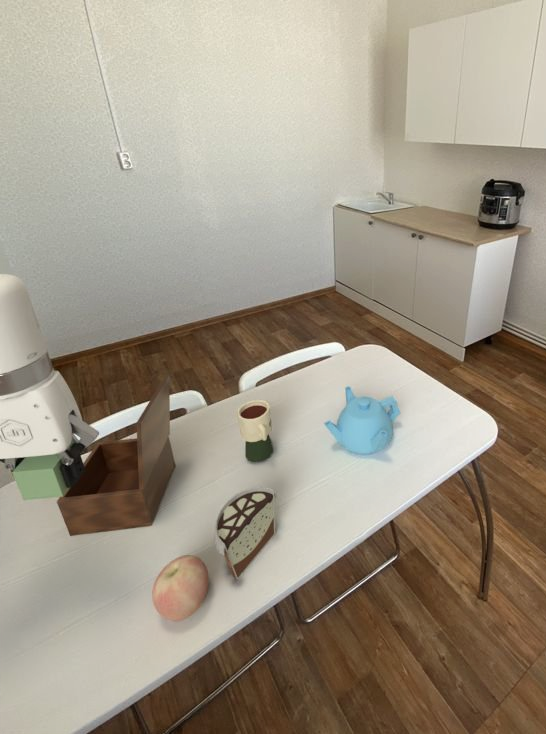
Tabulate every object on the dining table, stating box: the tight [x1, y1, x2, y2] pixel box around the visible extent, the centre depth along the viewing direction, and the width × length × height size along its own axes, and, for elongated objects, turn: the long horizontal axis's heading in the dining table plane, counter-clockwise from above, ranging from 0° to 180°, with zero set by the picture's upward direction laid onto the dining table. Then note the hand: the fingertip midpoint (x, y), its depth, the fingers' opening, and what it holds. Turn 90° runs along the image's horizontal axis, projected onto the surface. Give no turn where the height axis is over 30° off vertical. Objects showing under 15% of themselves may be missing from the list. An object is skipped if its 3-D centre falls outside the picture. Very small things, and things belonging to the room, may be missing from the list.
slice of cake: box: [213, 486, 278, 581], centre depth 68 cm, size 12×6×10 cm, turn 149°
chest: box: [56, 435, 176, 537], centre depth 78 cm, size 15×15×9 cm
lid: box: [136, 373, 171, 490], centre depth 75 cm, size 15×15×1 cm
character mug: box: [236, 399, 274, 463], centre depth 88 cm, size 11×7×13 cm, turn 37°
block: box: [11, 446, 71, 501], centre depth 53 cm, size 5×5×5 cm
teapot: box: [323, 385, 401, 456], centre depth 93 cm, size 15×15×11 cm
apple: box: [151, 554, 210, 622], centre depth 60 cm, size 8×8×8 cm
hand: (54, 480), depth 54 cm, fingers closed on block, 5 cm apart
